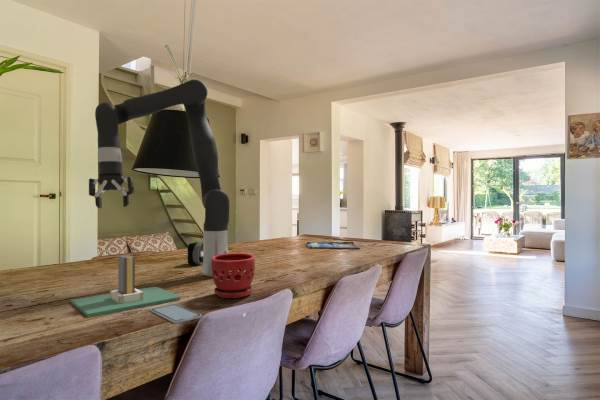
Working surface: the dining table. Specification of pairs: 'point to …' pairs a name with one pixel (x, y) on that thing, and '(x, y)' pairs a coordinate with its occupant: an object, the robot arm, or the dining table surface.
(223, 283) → the plant pot
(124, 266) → the keyed plug
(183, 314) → the smartphone
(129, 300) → the board
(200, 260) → the cpu cooler
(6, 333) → the dining table surface
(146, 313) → the dining table surface
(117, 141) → the robot arm
